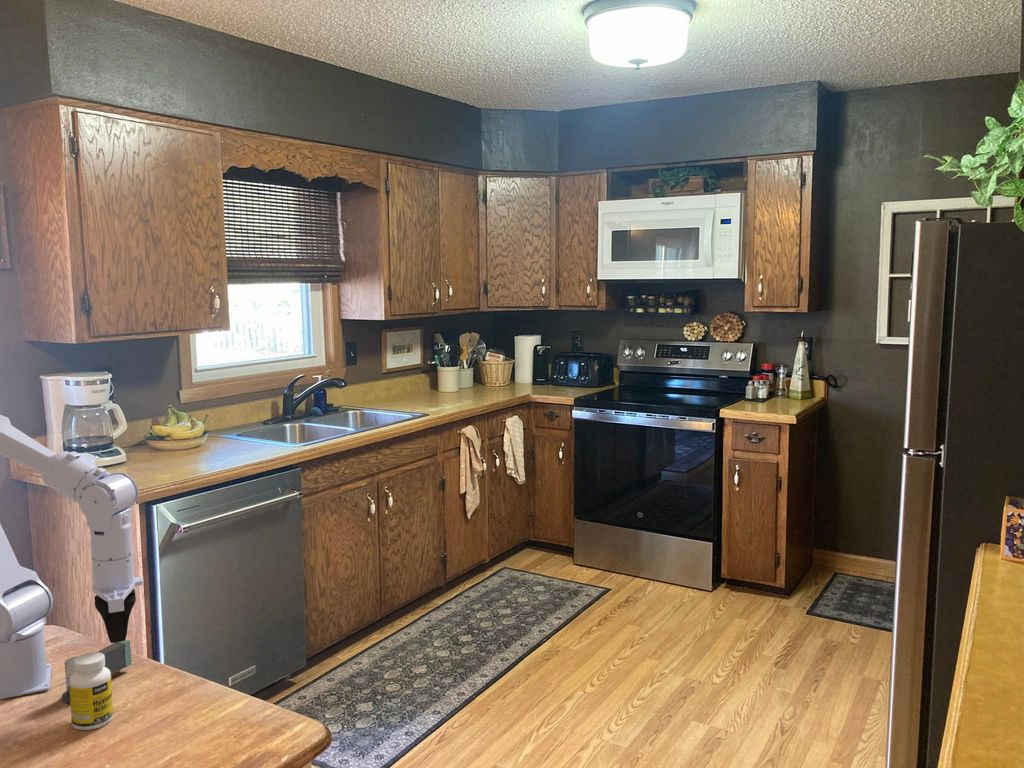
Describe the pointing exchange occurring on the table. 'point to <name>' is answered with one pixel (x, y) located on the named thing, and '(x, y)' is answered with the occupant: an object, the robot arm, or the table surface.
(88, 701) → the supplement bottle
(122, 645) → the swing bar
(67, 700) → the pivot base
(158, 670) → the table surface
